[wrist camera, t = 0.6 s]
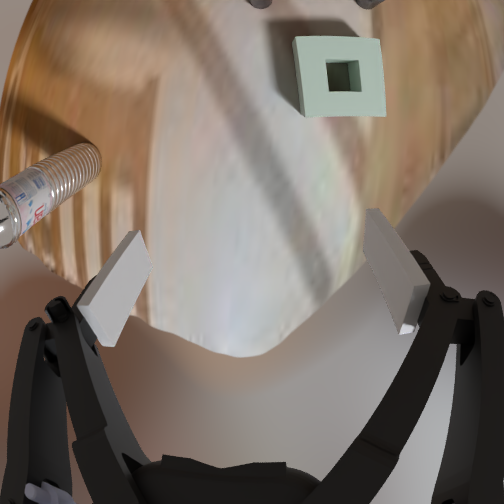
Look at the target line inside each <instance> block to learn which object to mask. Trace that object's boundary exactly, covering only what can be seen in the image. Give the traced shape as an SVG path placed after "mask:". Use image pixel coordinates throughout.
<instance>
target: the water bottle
mask: <svg viewBox="0 0 504 504" xmlns="http://www.w3.org/2000/svg"><path fill="white" fill-rule="evenodd" d="M101 167H102V160H101V156H100V153H99V151H98V150H97V149H96V147H94V146H93V145H92V144H89V143H79V144H76V145H73V146H71V147H69V148H67V149H64V150H62V151H60V152H58V153H56V154H53V155H51V156H49V157H47V158H45V159H43V160H41V161H39V162H37V163H36V164H33V165H32V166H30V167H28V168H26V169H25V170H24V171H22V172H20V173H19V174H17V175H15V176H13V177H12V178H10V179H8V180H7V181H5V182H3V183H2V184H0V249H4V248H8V247H10V246H12V245H13V243H15V242H16V241H17V240H18V238H19V237H20V236H21V235H22V234H23V233H24V232H26V231H27V230H28V229H29V228H30V227H32V226H33V225H34V224H35V223H36V222H38V221H39V220H40V219H41V218H43V217H44V216H46V215H48V214H49V213H50V212H51V211H53V210H54V209H55V208H57V207H58V206H59V205H61V204H62V203H63V202H65V201H66V200H67V199H69V198H70V197H71V196H73V195H74V194H75V193H77V192H78V191H80V190H81V189H82V188H84V187H85V186H87V185H88V184H90V183H91V182H92V181H93V180H95V179H96V178H97V176H98V175H99V173H100V171H101Z"/></svg>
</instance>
